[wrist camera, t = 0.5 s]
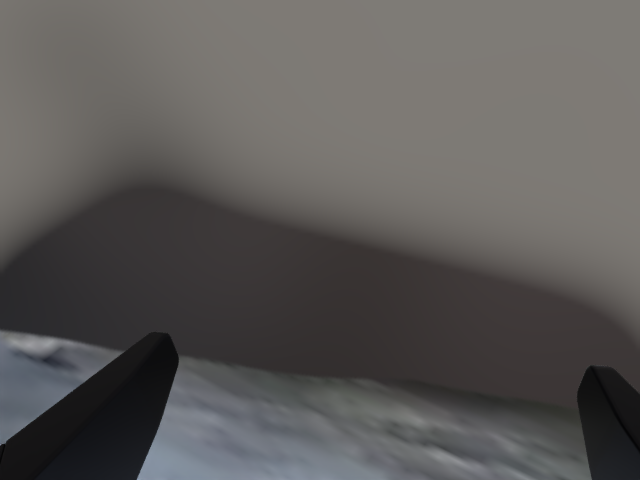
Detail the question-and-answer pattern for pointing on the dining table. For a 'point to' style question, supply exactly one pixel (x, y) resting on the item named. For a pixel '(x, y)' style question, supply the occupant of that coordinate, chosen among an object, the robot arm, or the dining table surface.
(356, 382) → the dining table surface
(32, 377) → the dining table surface
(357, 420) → the dining table surface
